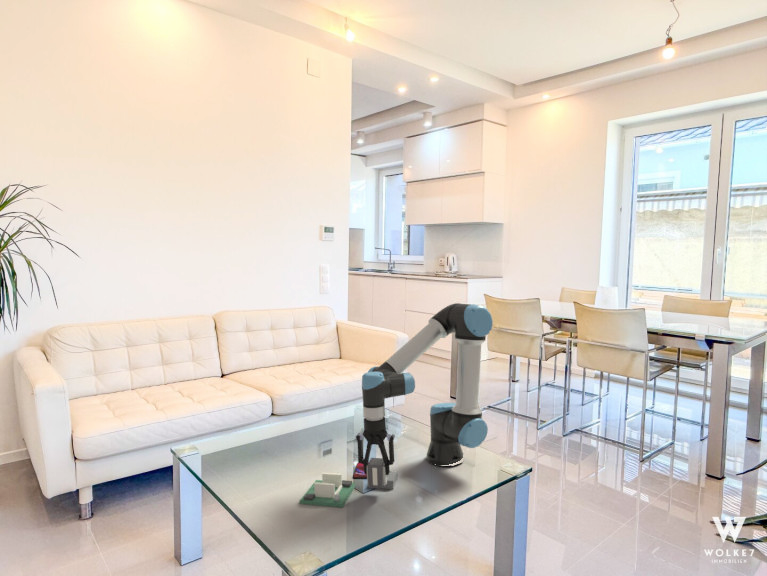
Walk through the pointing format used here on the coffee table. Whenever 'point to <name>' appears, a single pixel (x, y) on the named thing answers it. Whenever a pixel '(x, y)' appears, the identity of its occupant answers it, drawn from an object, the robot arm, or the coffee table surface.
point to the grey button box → (391, 480)
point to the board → (328, 491)
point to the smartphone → (359, 472)
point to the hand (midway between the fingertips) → (377, 483)
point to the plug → (375, 473)
